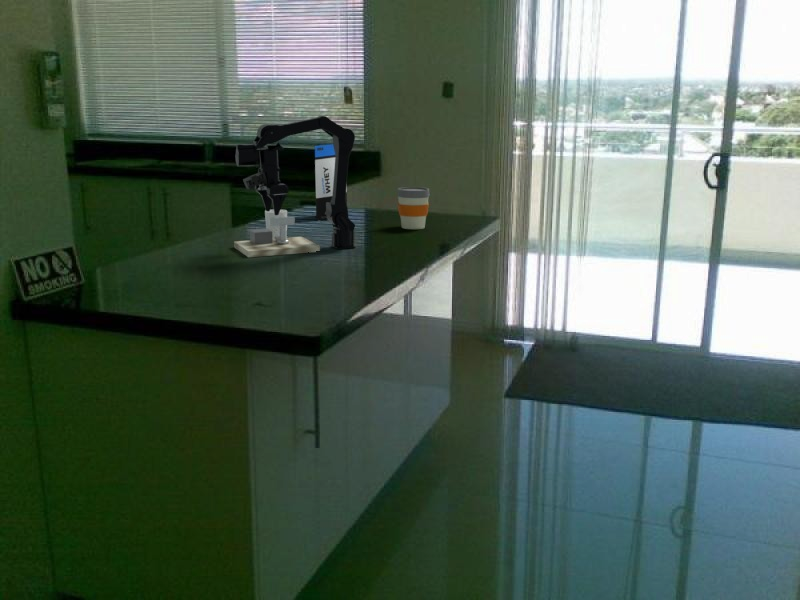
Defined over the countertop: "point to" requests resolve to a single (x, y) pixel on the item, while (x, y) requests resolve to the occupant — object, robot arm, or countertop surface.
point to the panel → (276, 247)
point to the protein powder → (324, 178)
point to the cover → (261, 236)
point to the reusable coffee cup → (413, 206)
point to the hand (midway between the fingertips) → (272, 213)
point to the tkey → (282, 227)
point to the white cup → (271, 214)
